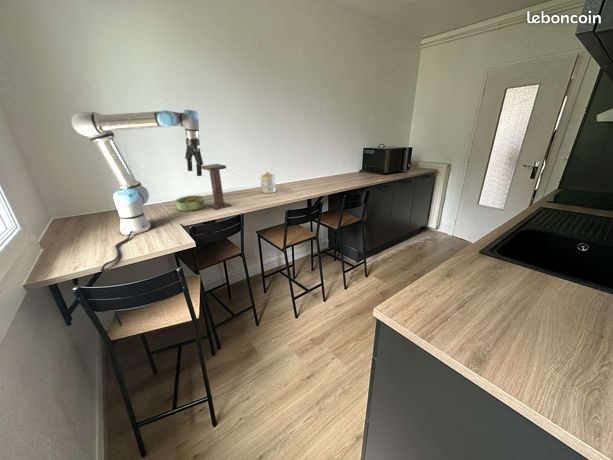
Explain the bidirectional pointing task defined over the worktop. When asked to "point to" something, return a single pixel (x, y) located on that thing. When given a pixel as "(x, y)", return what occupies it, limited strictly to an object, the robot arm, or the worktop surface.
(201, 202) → the bowl
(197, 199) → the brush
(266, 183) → the jar
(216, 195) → the stand
